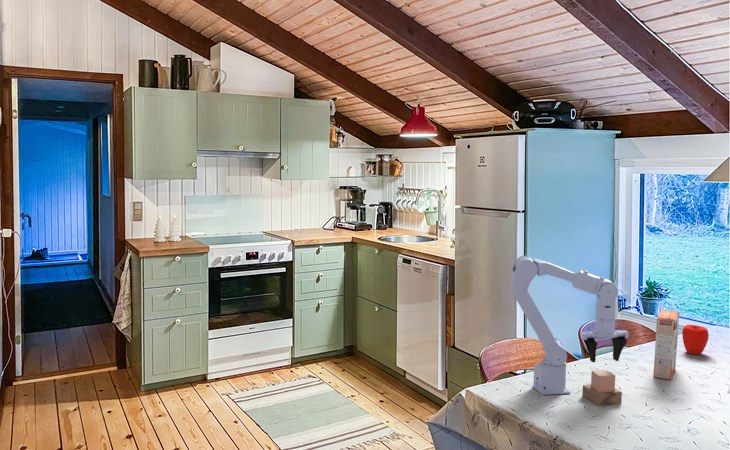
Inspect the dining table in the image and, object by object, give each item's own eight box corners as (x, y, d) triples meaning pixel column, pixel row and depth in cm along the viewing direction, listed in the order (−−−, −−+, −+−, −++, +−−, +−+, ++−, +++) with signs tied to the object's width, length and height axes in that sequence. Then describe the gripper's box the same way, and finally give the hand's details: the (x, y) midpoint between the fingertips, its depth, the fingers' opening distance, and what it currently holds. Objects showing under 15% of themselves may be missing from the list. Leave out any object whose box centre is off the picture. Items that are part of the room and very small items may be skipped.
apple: (708, 352, 240) (709, 324, 239) (706, 358, 232) (708, 329, 231) (682, 348, 244) (683, 321, 243) (679, 354, 237) (681, 326, 236)
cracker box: (672, 381, 208) (675, 319, 206) (652, 377, 211) (655, 317, 209) (676, 369, 220) (680, 311, 218) (658, 366, 223) (661, 308, 221)
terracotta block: (598, 392, 188) (599, 376, 187) (590, 386, 193) (591, 370, 192) (614, 391, 188) (615, 375, 188) (606, 385, 193) (606, 370, 193)
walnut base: (598, 407, 186) (598, 394, 186) (582, 397, 194) (582, 385, 194) (621, 404, 189) (621, 391, 188) (604, 395, 196) (605, 382, 196)
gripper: (588, 322, 190) (588, 365, 191) (634, 320, 192) (632, 363, 193) (578, 316, 197) (577, 358, 198) (622, 315, 199) (621, 356, 200)
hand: (604, 360), depth 196 cm, fingers open, 7 cm apart
